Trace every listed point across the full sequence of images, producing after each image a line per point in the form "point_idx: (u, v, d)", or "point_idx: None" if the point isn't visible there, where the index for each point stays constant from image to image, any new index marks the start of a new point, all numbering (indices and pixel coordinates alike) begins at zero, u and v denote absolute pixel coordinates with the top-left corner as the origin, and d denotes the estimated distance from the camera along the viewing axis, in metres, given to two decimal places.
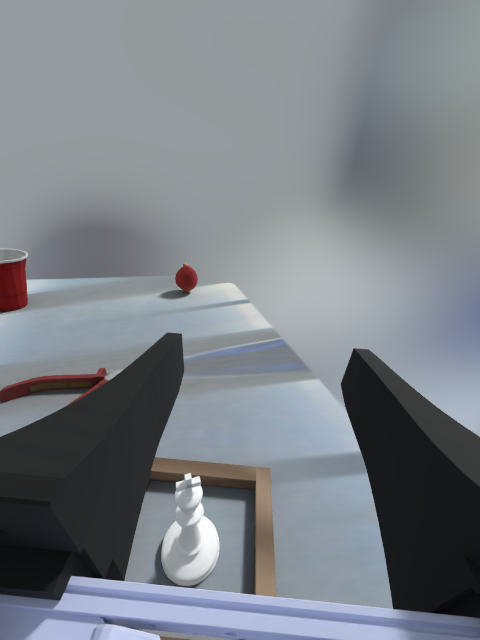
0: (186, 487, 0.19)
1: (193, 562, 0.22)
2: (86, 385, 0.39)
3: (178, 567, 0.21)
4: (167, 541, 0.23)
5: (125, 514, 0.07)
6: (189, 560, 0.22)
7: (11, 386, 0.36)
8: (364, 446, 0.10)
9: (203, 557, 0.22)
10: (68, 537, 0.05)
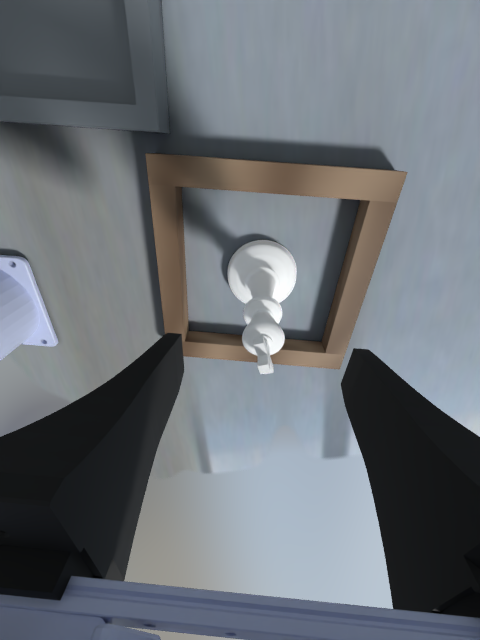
0: None
1: (241, 285, 0.19)
2: None
3: (237, 270, 0.18)
4: (263, 251, 0.18)
5: (125, 514, 0.07)
6: (243, 281, 0.19)
7: None
8: (364, 446, 0.10)
9: (246, 295, 0.19)
10: (69, 536, 0.05)
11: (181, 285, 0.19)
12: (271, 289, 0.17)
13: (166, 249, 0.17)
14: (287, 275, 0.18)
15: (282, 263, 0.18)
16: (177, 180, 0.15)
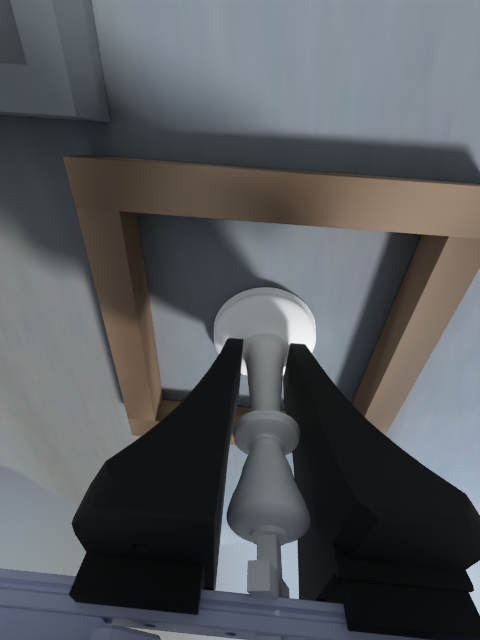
0: None
1: None
2: None
3: (227, 332, 0.12)
4: (267, 307, 0.11)
5: (220, 523, 0.07)
6: None
7: None
8: None
9: (242, 365, 0.13)
10: (212, 551, 0.05)
11: (144, 352, 0.13)
12: (280, 374, 0.10)
13: (116, 305, 0.11)
14: (303, 339, 0.12)
15: (296, 324, 0.12)
16: (122, 202, 0.09)
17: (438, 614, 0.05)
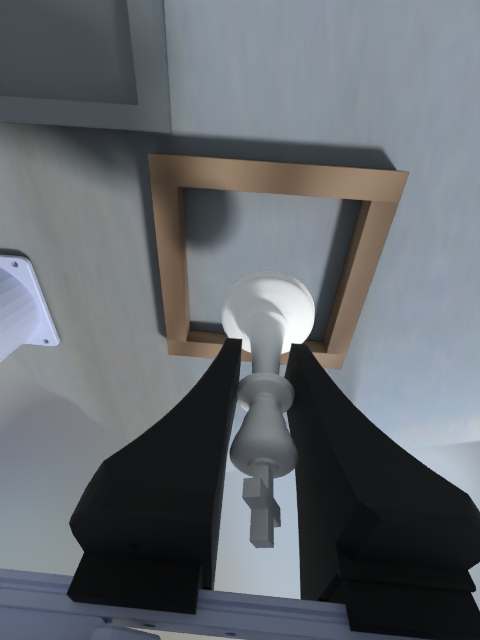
0: None
1: (240, 332, 0.14)
2: None
3: (233, 312, 0.14)
4: (268, 288, 0.13)
5: (218, 523, 0.07)
6: (241, 327, 0.14)
7: None
8: (294, 440, 0.10)
9: (247, 343, 0.14)
10: (210, 550, 0.05)
11: (183, 285, 0.19)
12: (279, 347, 0.12)
13: (168, 249, 0.17)
14: (302, 317, 0.13)
15: (294, 303, 0.13)
16: (179, 180, 0.15)
17: (440, 614, 0.05)
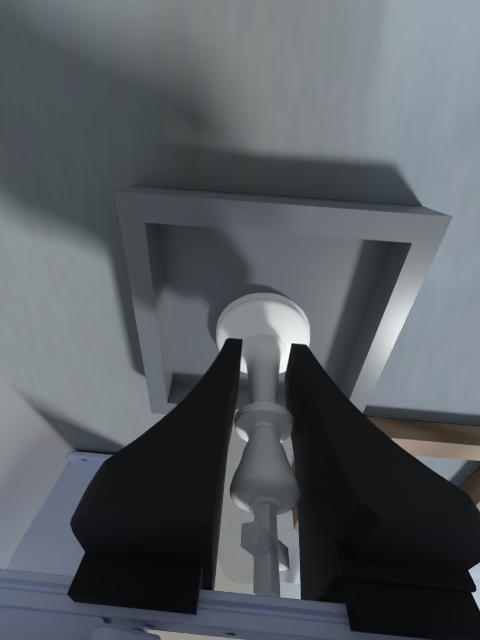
0: None
1: None
2: None
3: None
4: (256, 311, 0.13)
5: (219, 523, 0.07)
6: None
7: None
8: (294, 440, 0.10)
9: (247, 366, 0.14)
10: (211, 550, 0.05)
11: None
12: (274, 369, 0.11)
13: None
14: (297, 334, 0.13)
15: (286, 321, 0.13)
16: None
17: (441, 614, 0.05)
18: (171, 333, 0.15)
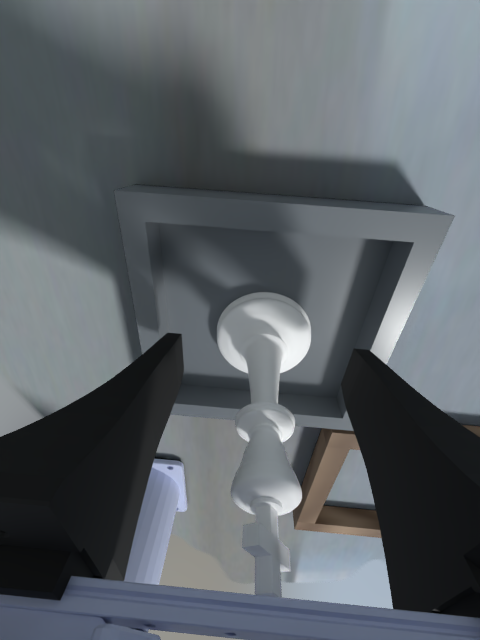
0: None
1: (238, 356, 0.14)
2: None
3: (228, 338, 0.13)
4: (257, 311, 0.13)
5: (125, 514, 0.07)
6: (238, 352, 0.14)
7: None
8: (364, 446, 0.10)
9: None
10: (68, 536, 0.05)
11: None
12: (275, 369, 0.11)
13: (324, 478, 0.20)
14: (298, 334, 0.13)
15: (287, 321, 0.13)
16: (353, 446, 0.17)
17: None
18: None
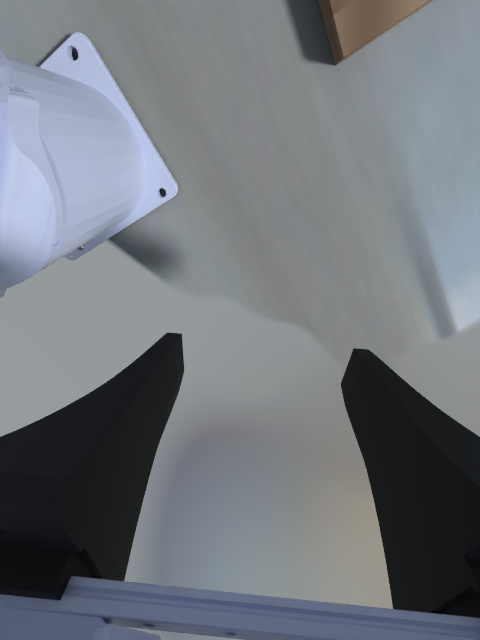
0: None
1: None
2: None
3: None
4: None
5: (125, 514, 0.07)
6: None
7: None
8: (364, 446, 0.10)
9: None
10: (68, 536, 0.05)
11: None
12: None
13: None
14: None
15: None
16: None
17: None
18: None
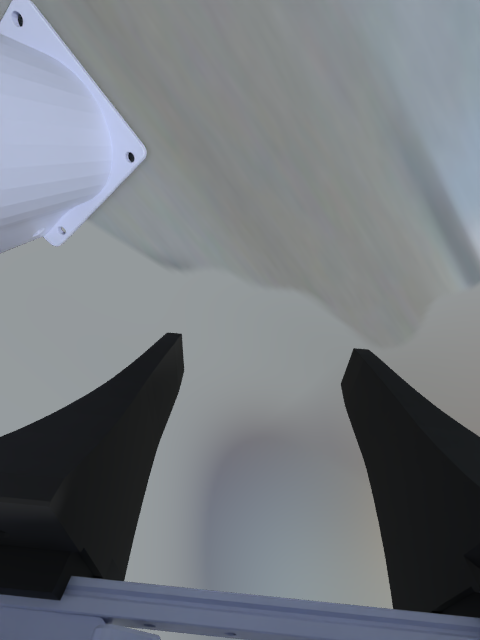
0: None
1: None
2: None
3: None
4: None
5: (125, 514, 0.07)
6: None
7: None
8: (364, 446, 0.10)
9: None
10: (68, 536, 0.05)
11: None
12: None
13: None
14: None
15: None
16: None
17: None
18: None
